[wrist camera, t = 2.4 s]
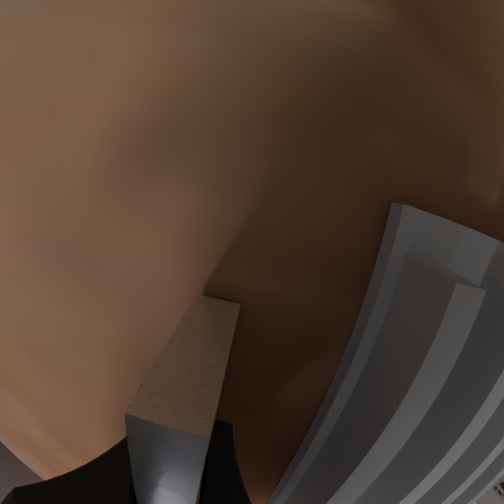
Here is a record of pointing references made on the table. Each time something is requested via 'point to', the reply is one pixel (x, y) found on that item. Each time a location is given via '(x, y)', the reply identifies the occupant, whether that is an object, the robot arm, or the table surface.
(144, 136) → the table surface
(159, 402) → the panel
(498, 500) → the light bulb box
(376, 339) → the slot rack
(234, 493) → the robot arm
